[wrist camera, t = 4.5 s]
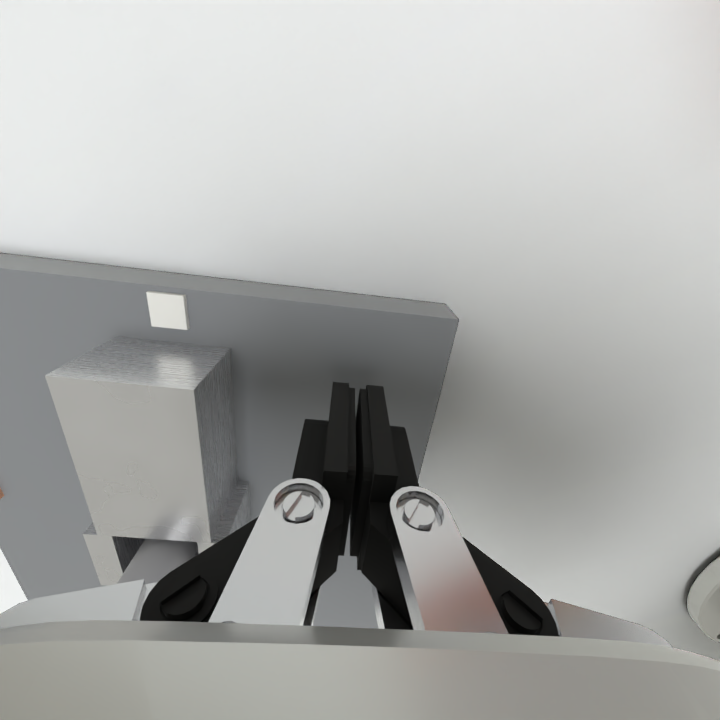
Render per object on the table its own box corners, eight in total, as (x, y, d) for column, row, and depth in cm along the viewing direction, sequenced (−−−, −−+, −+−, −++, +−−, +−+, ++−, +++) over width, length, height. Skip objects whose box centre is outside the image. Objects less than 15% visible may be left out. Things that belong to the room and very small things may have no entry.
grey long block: (244, 349, 12) (211, 391, 9) (253, 605, 19) (236, 672, 16) (102, 334, 12) (25, 373, 9) (163, 599, 19) (130, 667, 16)
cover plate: (445, 304, 13) (514, 381, 8) (377, 596, 22) (384, 740, 16) (-81, 243, 12) (-484, 280, 6) (62, 576, 21) (-55, 724, 15)
